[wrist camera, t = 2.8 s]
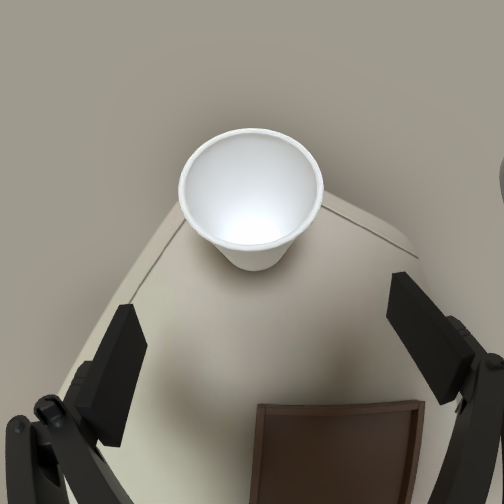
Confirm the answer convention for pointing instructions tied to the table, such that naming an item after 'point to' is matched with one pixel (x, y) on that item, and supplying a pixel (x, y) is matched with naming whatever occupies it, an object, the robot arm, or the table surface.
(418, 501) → the table surface
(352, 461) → the square brown tray
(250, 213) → the cup
